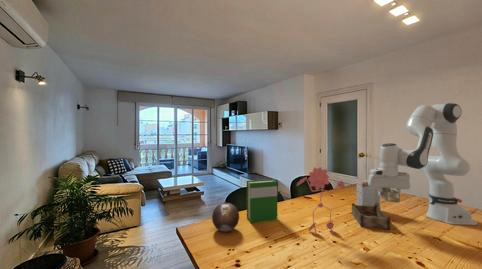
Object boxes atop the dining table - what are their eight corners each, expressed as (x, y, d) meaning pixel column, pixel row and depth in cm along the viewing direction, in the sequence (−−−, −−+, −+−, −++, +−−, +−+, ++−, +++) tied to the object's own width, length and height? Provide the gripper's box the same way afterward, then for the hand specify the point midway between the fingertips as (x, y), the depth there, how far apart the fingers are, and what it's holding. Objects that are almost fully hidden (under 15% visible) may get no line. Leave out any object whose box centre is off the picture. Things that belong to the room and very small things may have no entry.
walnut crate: (376, 215, 136) (376, 205, 135) (390, 229, 116) (390, 217, 116) (351, 213, 139) (351, 203, 139) (360, 226, 120) (360, 214, 119)
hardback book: (250, 223, 125) (250, 183, 125) (246, 218, 132) (246, 180, 132) (277, 219, 130) (277, 181, 130) (272, 215, 137) (272, 178, 137)
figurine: (349, 234, 110) (347, 168, 111) (302, 237, 107) (301, 169, 108) (333, 223, 125) (332, 164, 126) (291, 225, 123) (290, 165, 123)
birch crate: (390, 196, 125) (390, 187, 125) (400, 202, 113) (400, 193, 113) (378, 195, 126) (378, 187, 126) (386, 201, 115) (386, 192, 115)
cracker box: (373, 208, 149) (373, 179, 149) (380, 211, 143) (380, 181, 143) (356, 209, 146) (356, 180, 146) (362, 213, 140) (362, 182, 140)
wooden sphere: (214, 238, 107) (214, 209, 107) (210, 226, 121) (210, 200, 121) (242, 234, 111) (242, 206, 111) (235, 223, 125) (235, 198, 125)
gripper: (406, 171, 120) (406, 195, 121) (367, 169, 126) (366, 192, 126) (412, 173, 114) (412, 198, 114) (370, 171, 119) (370, 195, 119)
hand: (388, 195), depth 120 cm, fingers closed on birch crate, 6 cm apart
